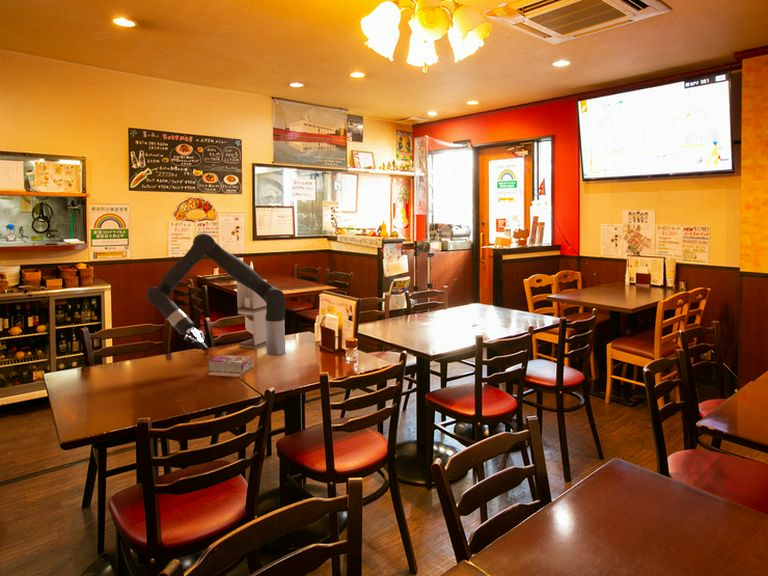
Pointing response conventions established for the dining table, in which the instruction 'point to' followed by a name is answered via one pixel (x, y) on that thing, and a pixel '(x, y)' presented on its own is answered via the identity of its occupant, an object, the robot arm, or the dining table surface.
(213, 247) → the robot arm
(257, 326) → the display case
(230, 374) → the mat
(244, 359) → the candy bar box
